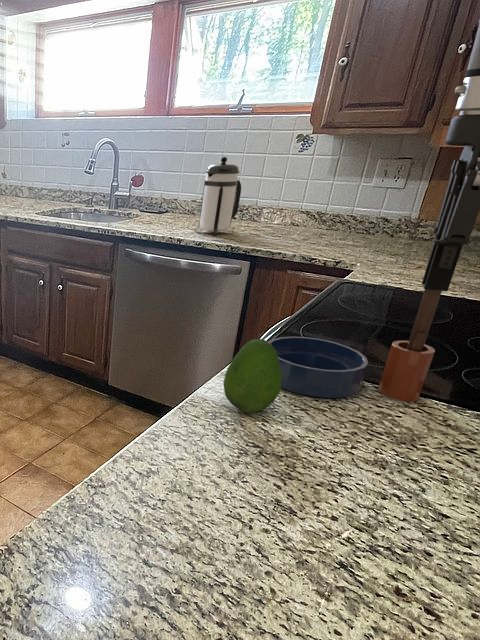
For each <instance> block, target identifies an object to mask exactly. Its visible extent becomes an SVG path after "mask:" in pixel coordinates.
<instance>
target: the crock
mask: <svg viewBox="0 0 480 640" xmlns="http://www.w3.org/2000/svg"><path fill="white" fill-rule="evenodd" d="M408 342H409V340H394V341H392V343H391V346H390V348H389V352H388V355H387V359H386V362H385V364H384V368H383V370H382V371H383V372H382V375H381V378H380V381H379V384H378V387H377V391H378V392H379V394H381V395H383V396H384V397H386V398H389V399H392V400H395V401H400V402H417V401H419V399H420V395H421V393H422V389H423V387H424V384H425V381H426V378H427V376H428V372H429V370H430V367H431V364H432V361H433V358H434V355H435V352H436V349H435V348H434V347H433V346H430V345H427V344H426V343H425V344H424V347H423V350H422V352H418V351H411V350H407V349H406V348H407V345H408Z"/></svg>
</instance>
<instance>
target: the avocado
mask: <svg viewBox="0 0 480 640" xmlns="http://www.w3.org/2000/svg"><path fill="white" fill-rule="evenodd" d="M281 380H282V375H281V369H280V364H279V359H278V355H277V352H276V350H275V349H274V347H273V346H272V345H271V344H270V343H269V341H268V340H266V339H263V338H252V339H251V340H249V341H247V342H246V343H245V344H244V345H243V346H241V348H240V350H239V351H238V352H237V354H236V355H235V356H234V358H233V359H232V360H231V362H230V363H229V365H228V366H227V369H226V371H225V374H224V378H223V391H224V392H223V393H224V395H225V398H226V399H227V401H228V402H229V403H230V404H231V405H232V406H233V407H234V408H236V409H237V410H239V411H240V412H245V413H256V412H261V411H264V410H265V409H267V408H268V407H269V406H270V405H272V404H273V403H274V402H275V401H276V399H277V397H278V396H279V394H280V393H281V391H282V388H281Z"/></svg>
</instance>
